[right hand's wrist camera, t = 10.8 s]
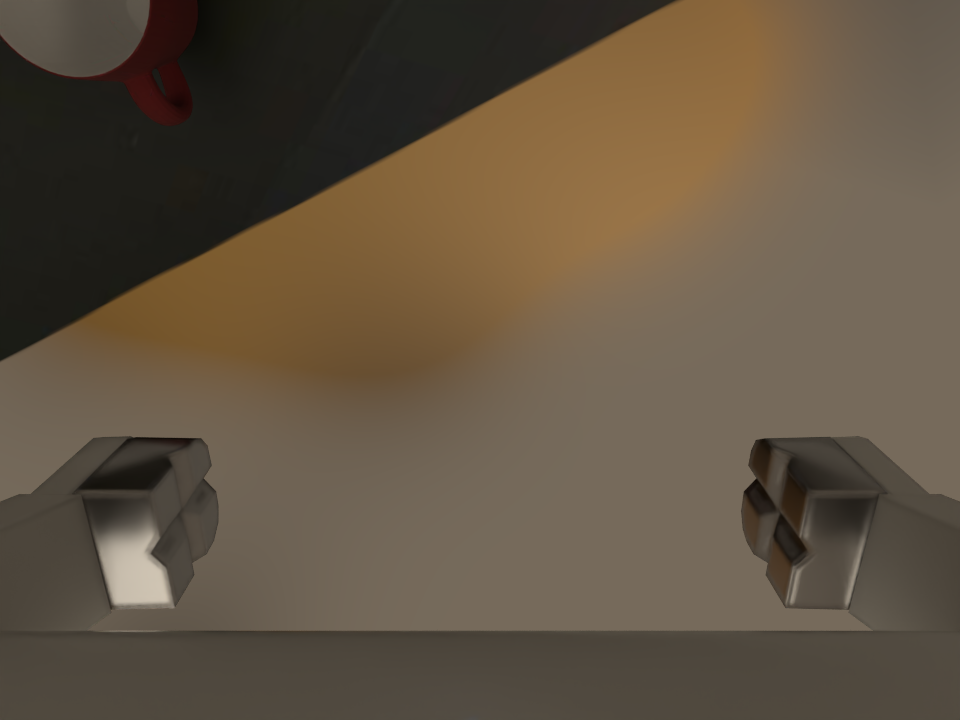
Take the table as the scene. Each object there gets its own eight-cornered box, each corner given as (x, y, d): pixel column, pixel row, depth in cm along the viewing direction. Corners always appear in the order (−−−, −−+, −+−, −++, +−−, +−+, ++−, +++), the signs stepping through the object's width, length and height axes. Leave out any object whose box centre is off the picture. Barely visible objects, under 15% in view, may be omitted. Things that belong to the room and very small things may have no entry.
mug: (278, 83, 41) (219, 81, 32) (169, 143, 42) (81, 159, 33) (176, -103, 37) (75, -166, 28) (60, -30, 39) (-73, -67, 29)
